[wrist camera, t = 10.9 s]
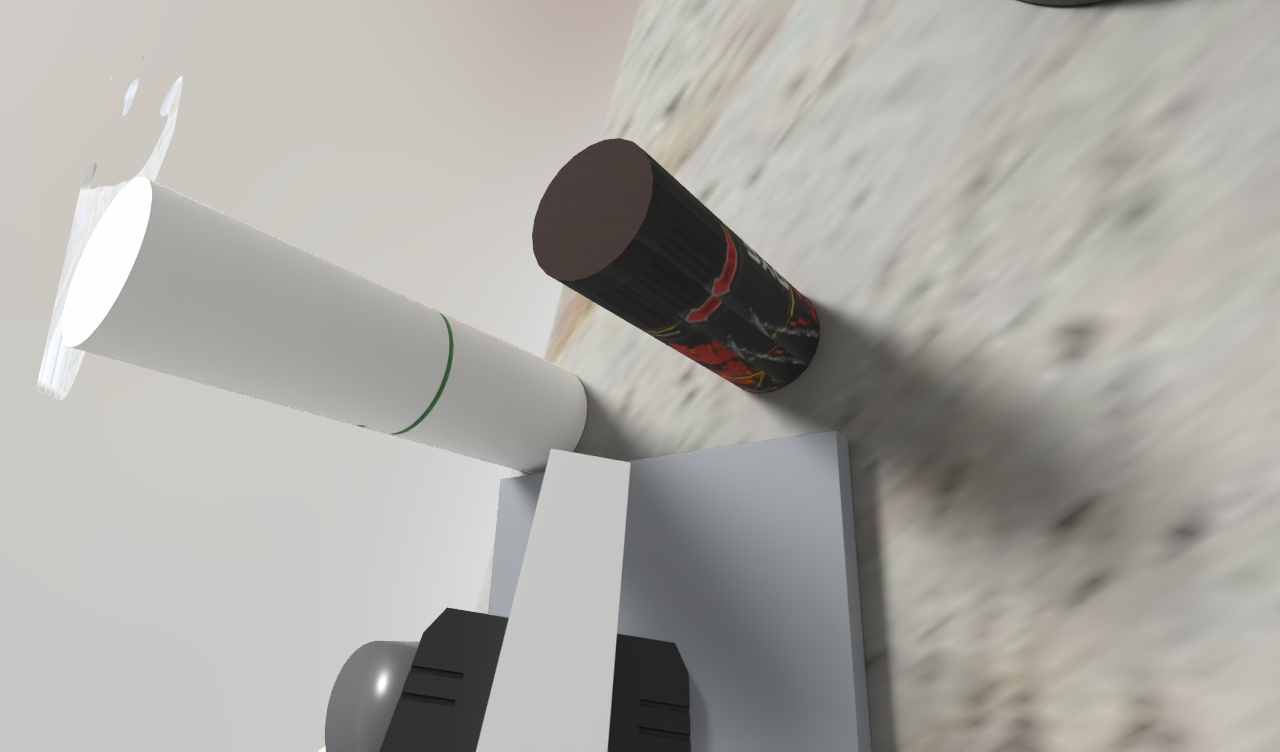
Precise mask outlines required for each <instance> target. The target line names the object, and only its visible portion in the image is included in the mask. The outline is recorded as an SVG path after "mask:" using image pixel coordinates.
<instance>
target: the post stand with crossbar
mask: <svg viewBox="0 0 1280 752" xmlns="http://www.w3.org/2000/svg"><path fill="white" fill-rule="evenodd" d="M419 643H420V642H404V641H402V642H400V641H374V642H370V643H367V644H365V645H363V646H362V647H360V648H359V649H358V650H356V651H355V652H354V653H353V654H352V655H351V656H350V658H349V659H348V660H347V662H346V663H345V664H344V666H343V668H342V669H341V671H340V673H339V675H338V677H337V680H336V682H335V684H334V687H333V690H332V693H331V696H330V700H329V704H328V709H327V715H326V725H325V746H324V747H323V748H322V749H320V750H319V751H318V752H379V751H380V748H381V746H382V743H383V740H384V738H385V735H386V732H387V729H388V727H389V724H390V721H391V719H392V716H393V713H394V711H395V708H396V705H397V702H398V700H399V698H400V696H401V692H402V689H403V686H404V684H405V681H406V678H407V675H408V673H409V671H410V669H411V665H412V662H413V659H414V657H415V654H416V651H417V648H418V646H419Z"/></svg>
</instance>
